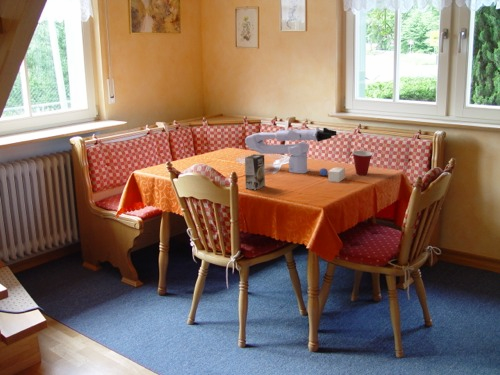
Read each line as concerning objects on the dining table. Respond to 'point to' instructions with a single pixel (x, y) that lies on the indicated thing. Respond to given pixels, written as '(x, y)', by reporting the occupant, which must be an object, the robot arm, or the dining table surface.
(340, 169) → the cream rectangular prism
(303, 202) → the dining table surface
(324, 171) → the ball
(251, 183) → the coffee box
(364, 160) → the plastic cup
